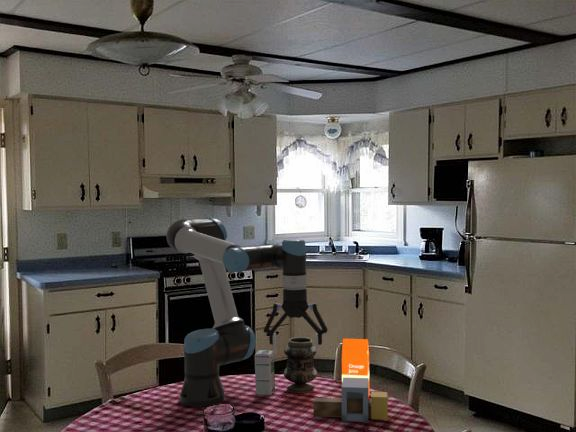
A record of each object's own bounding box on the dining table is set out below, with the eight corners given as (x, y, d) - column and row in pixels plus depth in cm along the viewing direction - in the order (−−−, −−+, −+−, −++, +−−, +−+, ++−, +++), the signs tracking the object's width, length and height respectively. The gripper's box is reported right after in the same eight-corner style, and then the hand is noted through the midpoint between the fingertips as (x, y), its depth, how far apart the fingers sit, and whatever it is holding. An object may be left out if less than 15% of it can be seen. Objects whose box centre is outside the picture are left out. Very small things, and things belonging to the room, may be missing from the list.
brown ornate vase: (318, 394, 215) (317, 343, 215) (283, 394, 216) (282, 343, 215) (316, 383, 227) (316, 335, 227) (284, 384, 228) (283, 335, 227)
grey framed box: (341, 420, 190) (341, 387, 190) (343, 409, 200) (343, 377, 199) (368, 421, 189) (367, 387, 188) (368, 410, 199) (368, 378, 198)
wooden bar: (313, 417, 194) (313, 401, 194) (314, 413, 198) (314, 397, 198) (371, 418, 192) (371, 403, 192) (371, 414, 196) (370, 399, 195)
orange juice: (344, 392, 217) (343, 335, 217) (369, 393, 216) (369, 336, 215) (341, 399, 210) (341, 341, 209) (368, 401, 208) (367, 342, 207)
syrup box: (271, 395, 215) (270, 354, 214) (255, 394, 216) (254, 353, 216) (275, 390, 220) (274, 350, 220) (259, 389, 222) (258, 349, 221)
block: (371, 419, 191) (371, 396, 191) (371, 413, 196) (371, 391, 196) (387, 419, 191) (387, 397, 190) (387, 413, 196) (387, 392, 195)
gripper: (253, 289, 193) (255, 357, 194) (333, 289, 190) (334, 358, 191) (257, 286, 201) (259, 351, 201) (334, 286, 198) (335, 352, 199)
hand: (296, 354), depth 196 cm, fingers open, 13 cm apart
